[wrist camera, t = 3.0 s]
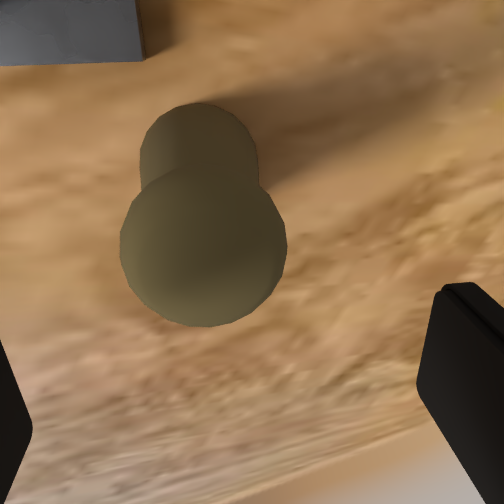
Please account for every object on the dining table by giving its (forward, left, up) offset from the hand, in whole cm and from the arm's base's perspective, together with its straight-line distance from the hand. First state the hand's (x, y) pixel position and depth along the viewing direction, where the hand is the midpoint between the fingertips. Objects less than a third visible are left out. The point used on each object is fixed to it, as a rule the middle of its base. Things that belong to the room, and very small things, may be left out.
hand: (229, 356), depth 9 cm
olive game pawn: (0, 0, -14) cm, 14 cm away
